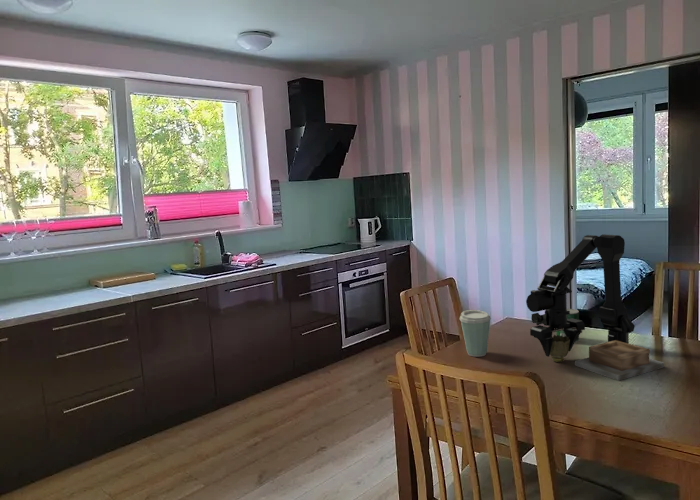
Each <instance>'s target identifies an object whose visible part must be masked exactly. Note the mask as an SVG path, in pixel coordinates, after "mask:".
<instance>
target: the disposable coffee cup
mask: <svg viewBox="0 0 700 500" xmlns="http://www.w3.org/2000/svg"><path fill="white" fill-rule="evenodd" d="M491 319H492V318H491V315H489V313H487V312H486V311H482V310H477V309H471V310H470V309H468V310H464V311H462V312H461V313H460V315H459V319H458V320H459V321H460V323H461V325H460V326H461V328H462V334H463V338H464V343H465V350H466V352H467V354H468V356H470V357H477V358H478V357H479V358H480V357H484V356H486V355H487V352H488V344H489V343H488V342H489V335H490V325H491Z"/></svg>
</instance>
